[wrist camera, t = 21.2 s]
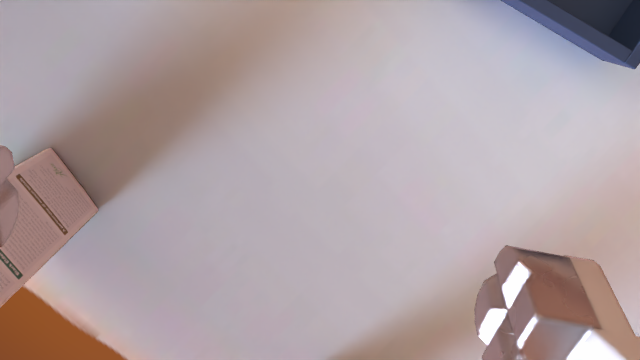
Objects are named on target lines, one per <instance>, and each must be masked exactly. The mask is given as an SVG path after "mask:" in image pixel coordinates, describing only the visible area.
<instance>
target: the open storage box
mask: <svg viewBox="0 0 640 360" xmlns="http://www.w3.org/2000/svg"><path fill="white" fill-rule="evenodd" d="M501 1H503V2H504V3H506V4H508V5H510V6H511V7H513V8H515V9H516V10H518V11H520V12H521V13H523V14H525V15H526V16H528V17H530V18H532V19H533V20H535V21H537V22H538V23H540V24H542V25H543V26H545V27H547V28H548V29H550V30H552V31H554V32H555V33H557V34H559V35H560V36H562V37H564V38H565V39H567V40H569V41H570V42H572V43H574V44H576V45H577V46H579V47H581V48H582V49H584V50H586V51H587V52H589V53H591V54H592V55H594V56H596V57H598V58H599V59H601V60H603V61H607V62H611V63H614V64H618V65H621V66H625V67H628V68H632V69H636V68H637V66H638V65H639V63H640V0H501Z"/></svg>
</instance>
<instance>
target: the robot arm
mask: <svg viewBox="0 0 640 360" xmlns="http://www.w3.org/2000/svg"><path fill="white" fill-rule="evenodd" d="M14 170H15V166H14V161H13V155H12V152H11V151H10V150H9V149H8V148H7V147H5V146H2V145H0V247H2V246H3V245H4V244H5V242H6V241H7V240H8V238H9V237H10V235H11V234H12V232H13V229H14V227H15V224H16V221H17V219H18V213H19V196H18V191H17V190H16V188H15V187H14V186H13V185H12V184H11V183H10V181H9V180H8V179H7V178H8V176H9V175H10V174H11V173H12V172H13V171H14ZM494 264H495V268H496V271H497V274H495V275H493V276H492V277H490V278H488V279H486V280H485V281H484V282H483V284H482V286H481V288H480V291H479V293H478V295H477V300H476V305H475V325H476V331H477V335H478V336H479V337H480V338H481V339H482V340H483V341H484V342H485V343H486V345H487V348H486V350H485V352H484V353H483V355H482V359H483V360H640V337H637V336H635V334H634V332H633V330H632V328H631V326H630V324H629V322H628V320H627V318H626V316H625V314H624V312H623V310H622V308H621V306H620V304H619V302H618V300H617V298H616V296H615V294H614V292H613V290H612V288H611V286H610V284H609V282H608V281H607V279H606V277H605V275H604V273H603V271H602V269H601V267H600V265H598V264H597V263H596V262H595V261H594V260H588V259H583V258H577V257H571V256H560V255H554V254H549V253H544V252H539V251H534V250H528V249H523V248H518V247H513V246H508V245H506V246H505V247H504V248H503V249H502V250H501V251H500V252H499V254H498V256H497V258H496V259H495V261H494Z"/></svg>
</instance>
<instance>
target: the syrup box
mask: <svg viewBox="0 0 640 360" xmlns="http://www.w3.org/2000/svg"><path fill="white" fill-rule="evenodd" d="M7 179H8V180H9V181H10V183H11V184H12V185H13V186H14V187H15V188H16V190H17V191H18V196H19V213H18V219H17V221H16V224H15V227H14V229H13V232H12V234H11V235H10V237H9V238H8V240H7V241H6V242H5V244H4V245H3V246H2V247H0V307H1V306H2V305H3V304H4V303H5V302H6V301H7V300H8V299H9V298H10V297H11V296H12V295H13V294H14V293H15V292H16V291H17V290H19V289H20V288H21V287H22V286H23V285H24V284H25V283H26V282H27V281H28V280H29V279H30V278H31V277H32V276H33V275H34V274H35V273H36V272H37V271H38V270H39V269H40V268H41V267H42V266H43V265H44V264H45V263H46V262H47V261H49V259H50V258H51V257H52V256H54V255H55V253H56V252H58V251H59V249H60V248H62V247H63V246H64V245H65V244H66V243H67V242H68V240H69V239H71V238H72V237H73V236H74V235H75V234H76V233H77V232H78V231H79V230H80V229H81V228H82V227H83V226H84V225H85V224H86V223H87V222H88V221H89V220H90V219H91V218H92V217H93V216H94V215H95V214H96V213H97V212H98V208H97V207H96V205H95V204H94V203H93V201H92V200H91V198H90V197H89V196H88V194H87V193H86V192H85V190H84V189H83V188H82V186H81V185H80V184H79V183H78V181H77V180H76V179H75V177H74V176H73V175H72V173H71V172H70V171H69V170H68V168H67V167H66V166H65V164H64V163H63V162H62V161H61V159H60V158H59V157H58V155H57V154H56V153H55V152H54V150H53V149H52V148H48V149H46V150H44V151H42V152H40V153H38V154H36V155H35V156H33V157H31V158H29V159H27V160H26V161H24V162H22V163H20V164H19V165H17V166H15V170H14V171H13V172H12V173H11V174H10V175H9V176H8V178H7Z"/></svg>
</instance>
